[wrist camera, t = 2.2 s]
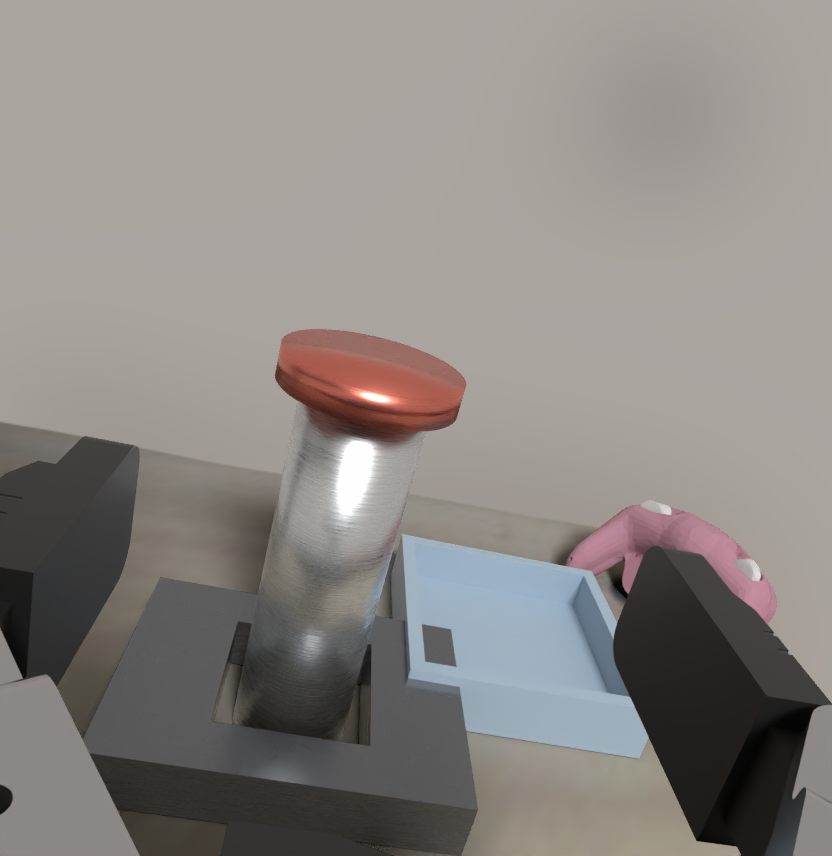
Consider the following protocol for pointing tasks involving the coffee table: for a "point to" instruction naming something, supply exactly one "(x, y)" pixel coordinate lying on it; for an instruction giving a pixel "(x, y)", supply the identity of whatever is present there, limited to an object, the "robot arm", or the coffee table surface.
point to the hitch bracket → (281, 734)
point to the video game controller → (674, 530)
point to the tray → (518, 645)
